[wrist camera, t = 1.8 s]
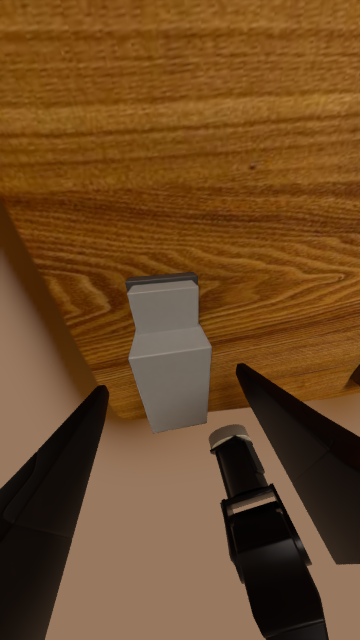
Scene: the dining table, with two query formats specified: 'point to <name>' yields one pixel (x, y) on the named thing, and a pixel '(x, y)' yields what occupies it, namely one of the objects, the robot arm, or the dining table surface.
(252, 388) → the robot arm
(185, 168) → the dining table surface
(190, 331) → the grey stepped block
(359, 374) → the brown angle bracket
